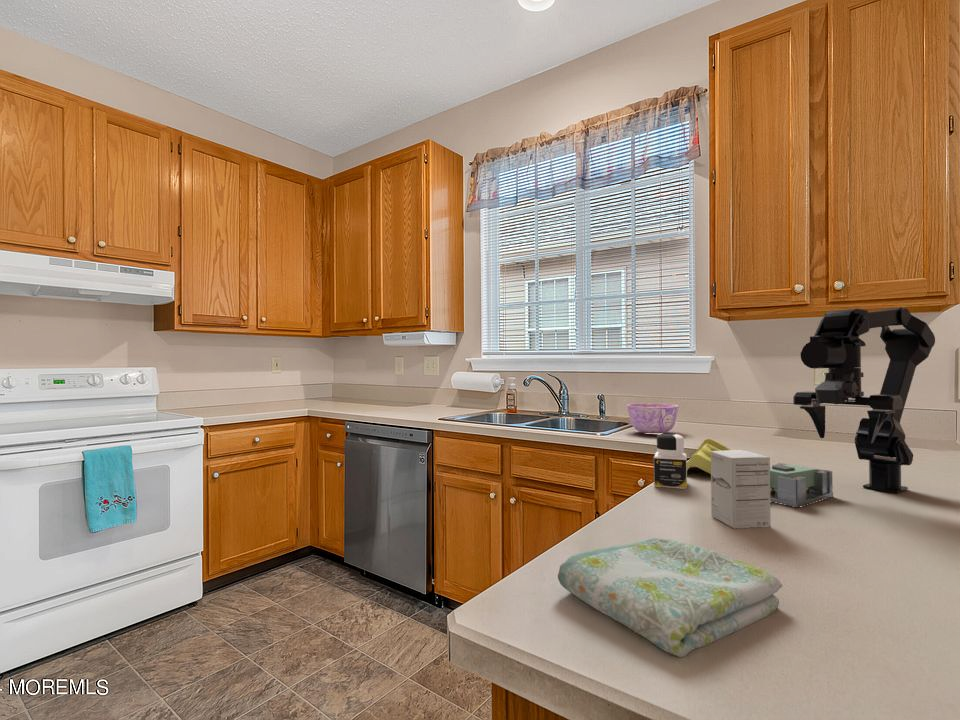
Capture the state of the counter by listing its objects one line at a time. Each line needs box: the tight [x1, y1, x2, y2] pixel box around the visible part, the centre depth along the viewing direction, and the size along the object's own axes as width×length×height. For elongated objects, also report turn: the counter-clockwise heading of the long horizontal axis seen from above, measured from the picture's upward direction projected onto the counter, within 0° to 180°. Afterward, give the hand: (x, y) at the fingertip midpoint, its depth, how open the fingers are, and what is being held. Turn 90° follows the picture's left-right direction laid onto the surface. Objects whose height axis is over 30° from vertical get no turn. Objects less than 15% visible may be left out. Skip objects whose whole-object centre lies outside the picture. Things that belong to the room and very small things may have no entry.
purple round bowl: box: [626, 402, 680, 434], centre depth 209 cm, size 20×20×12 cm
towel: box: [557, 537, 783, 658], centre depth 64 cm, size 18×21×5 cm
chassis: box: [770, 462, 834, 508], centre depth 112 cm, size 15×11×6 cm
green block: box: [770, 463, 818, 489], centre depth 112 cm, size 10×6×4 cm, turn 115°
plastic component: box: [687, 438, 731, 475], centre depth 139 cm, size 20×7×10 cm
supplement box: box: [710, 449, 772, 529], centre depth 95 cm, size 7×7×13 cm
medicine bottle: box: [653, 433, 688, 490], centre depth 124 cm, size 7×7×12 cm
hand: (845, 440), depth 111 cm, fingers open, 9 cm apart
